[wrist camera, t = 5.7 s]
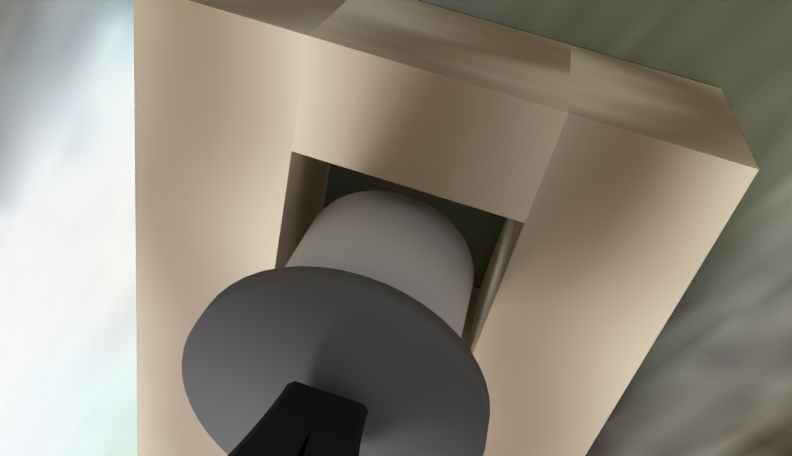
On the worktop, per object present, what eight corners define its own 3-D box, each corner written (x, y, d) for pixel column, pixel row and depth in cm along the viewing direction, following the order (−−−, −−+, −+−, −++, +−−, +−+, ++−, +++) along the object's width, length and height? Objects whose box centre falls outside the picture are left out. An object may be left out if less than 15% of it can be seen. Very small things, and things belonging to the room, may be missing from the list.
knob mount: (721, 88, 15) (759, 169, 12) (483, 538, 26) (469, 645, 23) (224, -56, 16) (134, -17, 13) (191, 439, 27) (138, 529, 24)
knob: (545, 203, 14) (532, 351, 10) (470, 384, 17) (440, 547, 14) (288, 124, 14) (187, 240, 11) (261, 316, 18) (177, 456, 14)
